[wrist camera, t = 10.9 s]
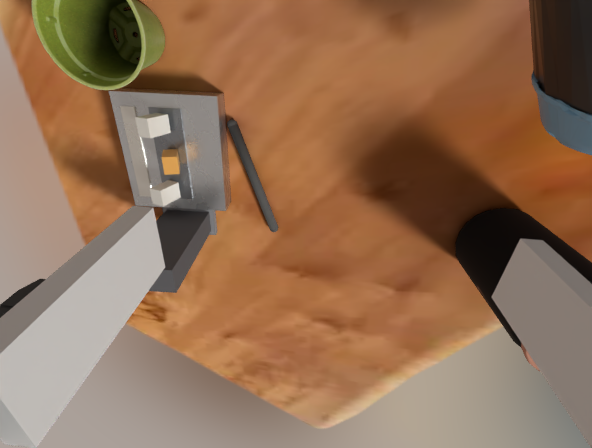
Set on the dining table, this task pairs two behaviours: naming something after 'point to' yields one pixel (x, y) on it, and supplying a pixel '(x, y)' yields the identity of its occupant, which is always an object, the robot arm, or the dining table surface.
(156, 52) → the plant pot
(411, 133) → the dining table surface
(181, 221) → the dark grey rectangular block
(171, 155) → the tan cardboard carton
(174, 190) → the matte cream brick
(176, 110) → the breaker panel
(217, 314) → the dining table surface
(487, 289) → the coffee jar
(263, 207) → the dark grey thin rod
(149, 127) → the cream colored chunky brick
